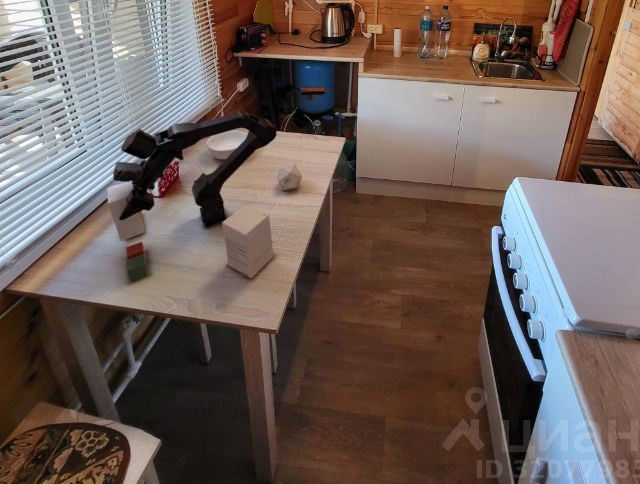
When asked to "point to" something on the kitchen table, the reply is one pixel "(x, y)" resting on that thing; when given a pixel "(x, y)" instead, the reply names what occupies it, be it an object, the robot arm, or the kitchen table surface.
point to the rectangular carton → (248, 240)
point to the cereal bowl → (225, 143)
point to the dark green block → (137, 267)
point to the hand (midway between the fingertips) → (120, 210)
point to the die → (289, 177)
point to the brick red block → (135, 250)
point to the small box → (117, 205)
